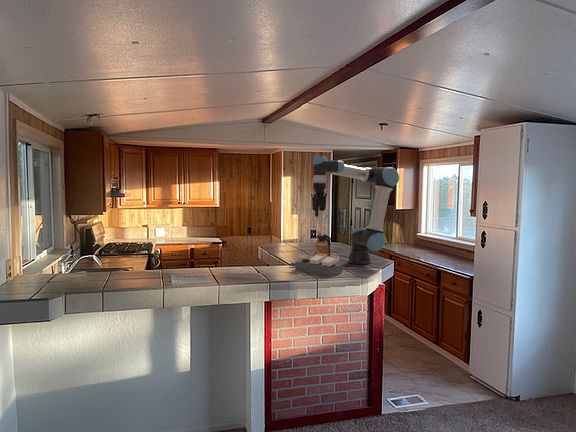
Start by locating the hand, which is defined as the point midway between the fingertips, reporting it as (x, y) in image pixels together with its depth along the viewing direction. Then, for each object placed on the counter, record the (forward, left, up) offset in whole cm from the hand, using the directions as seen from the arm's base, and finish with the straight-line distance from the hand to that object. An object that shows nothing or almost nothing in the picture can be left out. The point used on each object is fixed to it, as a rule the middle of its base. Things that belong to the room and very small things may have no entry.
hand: (318, 221), depth 268 cm
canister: (-17, -9, -31) cm, 36 cm away
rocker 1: (0, -9, -24) cm, 26 cm away
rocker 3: (0, +9, -24) cm, 26 cm away
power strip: (0, -4, -31) cm, 31 cm away
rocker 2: (0, 0, -24) cm, 24 cm away
